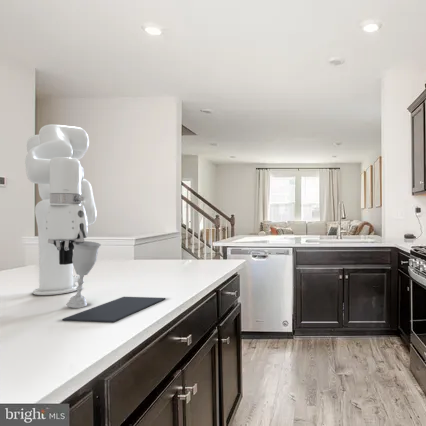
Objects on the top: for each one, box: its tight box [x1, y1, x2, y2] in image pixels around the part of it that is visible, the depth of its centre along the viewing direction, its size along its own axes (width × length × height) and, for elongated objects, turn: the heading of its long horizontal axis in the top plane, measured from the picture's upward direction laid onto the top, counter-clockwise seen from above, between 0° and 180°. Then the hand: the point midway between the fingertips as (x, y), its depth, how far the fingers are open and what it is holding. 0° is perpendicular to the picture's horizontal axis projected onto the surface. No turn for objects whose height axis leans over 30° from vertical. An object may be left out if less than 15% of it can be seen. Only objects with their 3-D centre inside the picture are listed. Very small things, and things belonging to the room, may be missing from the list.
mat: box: [62, 296, 166, 323], centre depth 105 cm, size 24×14×1 cm, turn 173°
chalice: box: [66, 240, 102, 309], centre depth 107 cm, size 7×7×18 cm
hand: (66, 263), depth 107 cm, fingers closed
